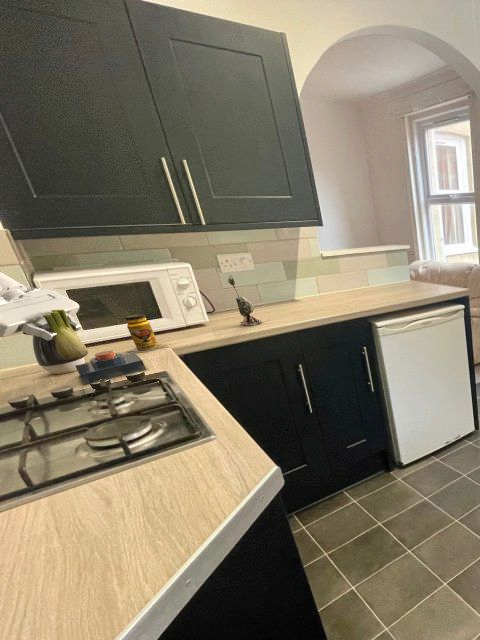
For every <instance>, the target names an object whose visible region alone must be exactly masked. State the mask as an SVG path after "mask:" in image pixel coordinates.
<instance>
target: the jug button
mask: <svg viewBox="0 0 480 640" xmlns="http://www.w3.org/2000/svg"><path fill="white" fill-rule="evenodd" d="M115 353H116V352H115V351H114V350H103V351H99V352H96V353H95V354H94V358H96V360H105V359H110V358H113V357H115V356H116V355H115Z"/></svg>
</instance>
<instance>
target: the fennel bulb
mask: <svg viewBox="0 0 480 640" xmlns="http://www.w3.org/2000/svg"><path fill="white" fill-rule="evenodd" d="M51 311H52V312H51V314H44V315H43V316H44V317H45V319H46V321H47V323H48V325H49V327H50V329H51V331H52V332H54V333H56V336H55V338H54V339H55V343H56V349H57V352H58V354H59V355H60V356H61V357H62V358H63V359H65V360H71V359H78V358H81V357H84V358H85V357H87V356H88V354H89V350H88V348H87V346H86V345H85V344H84V343H83V342H82V340H81V338H80V337H79V335H78V334H77V332H76V331H74V330H73V329H72V327H71V325H70V323H69V321H68V318H67V316H66V313H65V311H64V310H63V309H62V310H51Z"/></svg>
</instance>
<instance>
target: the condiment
mask: <svg viewBox="0 0 480 640" xmlns="http://www.w3.org/2000/svg"><path fill="white" fill-rule="evenodd" d="M124 320H126V328H127V329H128V332H129V334H130V336H131V339H132V341H133V343H134V345H135V348H132V349H128V350H127V352H136V353H137V352H139V353H140V352H141V353H147V352H150V351H152V350H156V349H159V348H161V347H163V346H165V345H167V344H162V343H161V344H159V342H158V339H157V338H156V335H155V333H154V330H153V328H152V325H151V323H150V321H148V320H147V317H146V315H145V314H144V313H136V314H130V315H127V316H125V317H124Z"/></svg>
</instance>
